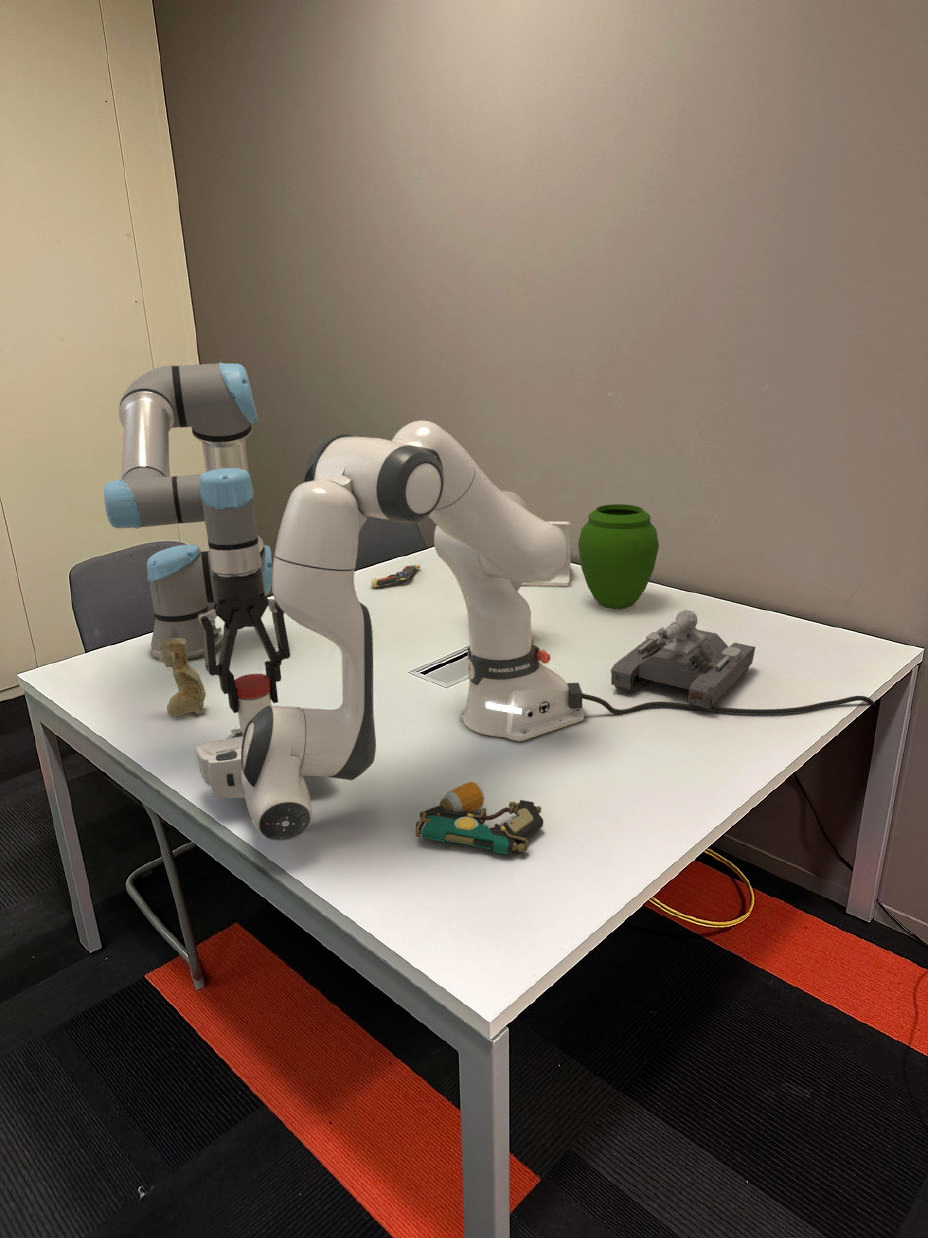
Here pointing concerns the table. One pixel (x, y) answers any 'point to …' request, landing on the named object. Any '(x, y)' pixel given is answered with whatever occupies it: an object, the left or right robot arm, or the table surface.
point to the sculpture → (182, 678)
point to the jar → (251, 709)
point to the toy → (685, 662)
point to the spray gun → (478, 821)
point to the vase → (618, 554)
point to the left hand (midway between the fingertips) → (254, 704)
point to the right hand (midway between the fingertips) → (256, 729)
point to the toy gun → (396, 576)
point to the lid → (252, 686)
